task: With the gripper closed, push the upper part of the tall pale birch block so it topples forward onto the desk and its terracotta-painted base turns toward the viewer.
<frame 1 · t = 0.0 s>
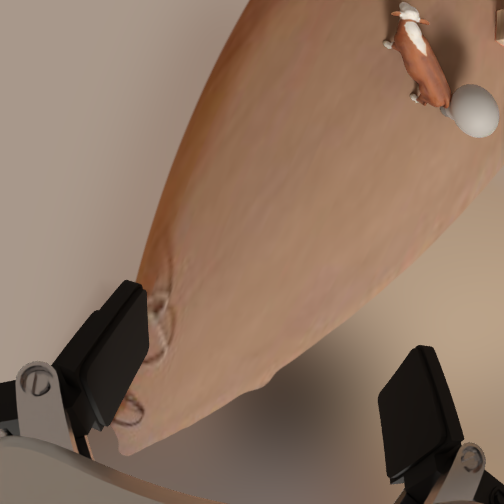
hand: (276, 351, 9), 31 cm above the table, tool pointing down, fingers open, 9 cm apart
lightbulb: (444, 107, 30), on the table
bull figurine: (404, 60, 28), on the table
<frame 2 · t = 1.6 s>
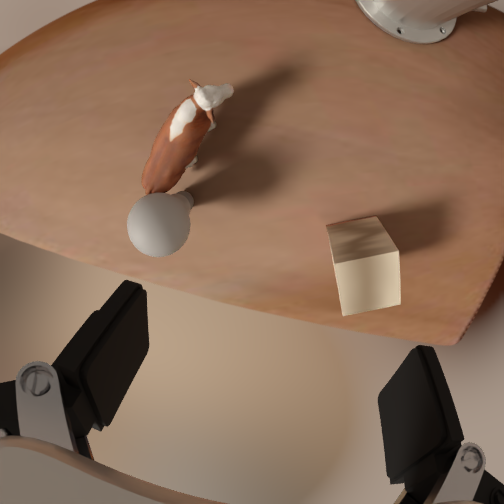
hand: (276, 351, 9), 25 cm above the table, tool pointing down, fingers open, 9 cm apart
lightbulb: (186, 198, 35), on the table
bull figurine: (198, 131, 31), on the table
birch block: (354, 243, 34), on the table
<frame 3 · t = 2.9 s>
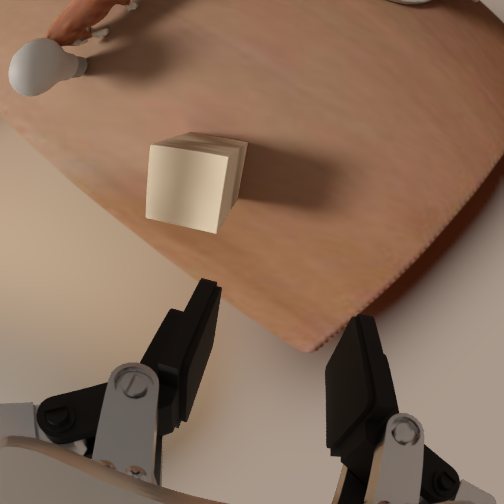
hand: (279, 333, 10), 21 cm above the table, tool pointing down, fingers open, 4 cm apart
lightbulb: (84, 67, 25), on the table
bull figurine: (122, 10, 22), on the table
birch block: (214, 165, 29), on the table
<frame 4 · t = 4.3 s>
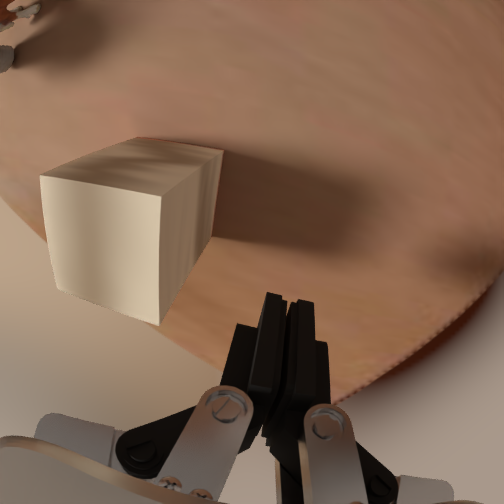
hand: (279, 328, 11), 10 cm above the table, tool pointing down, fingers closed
lightbulb: (13, 58, 15), on the table
birch block: (173, 186, 19), on the table
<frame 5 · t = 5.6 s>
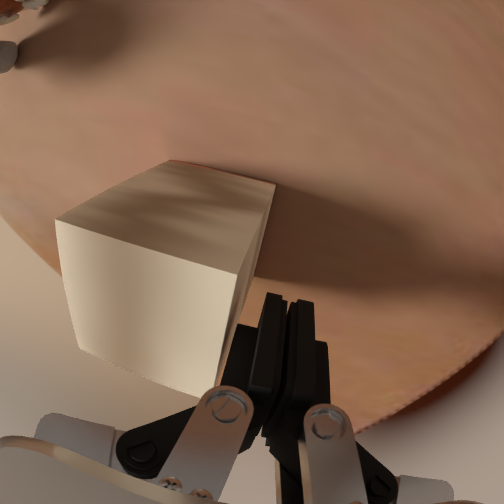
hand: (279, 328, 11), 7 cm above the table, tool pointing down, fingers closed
lightbulb: (16, 56, 13), on the table
birch block: (212, 220, 17), on the table, touching gripper
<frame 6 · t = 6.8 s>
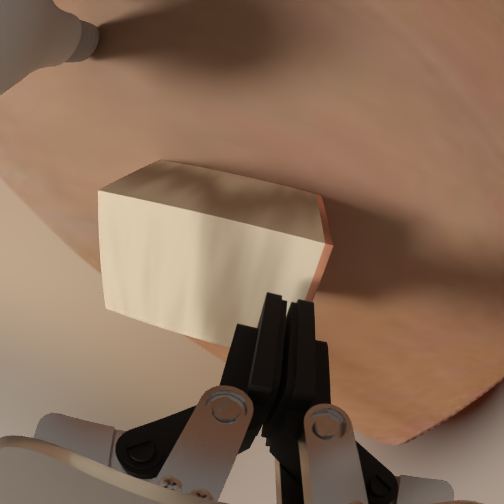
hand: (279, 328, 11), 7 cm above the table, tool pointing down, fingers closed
lightbulb: (92, 44, 13), on the table
birch block: (307, 272, 14), point 3 cm above the table, tilted 90°
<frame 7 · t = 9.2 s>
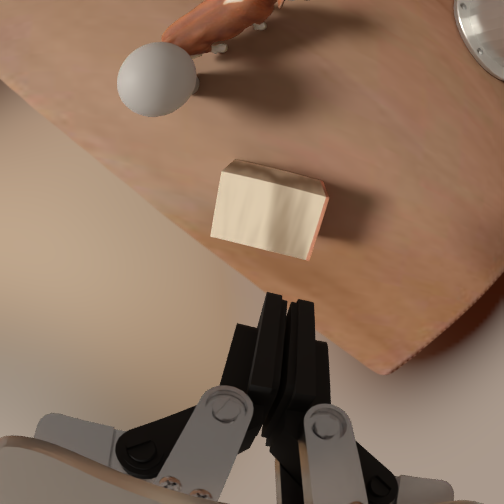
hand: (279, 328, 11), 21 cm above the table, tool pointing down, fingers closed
lightbulb: (190, 84, 26), on the table
bull figurine: (243, 26, 23), on the table
birch block: (316, 218, 28), point 3 cm above the table, tilted 90°
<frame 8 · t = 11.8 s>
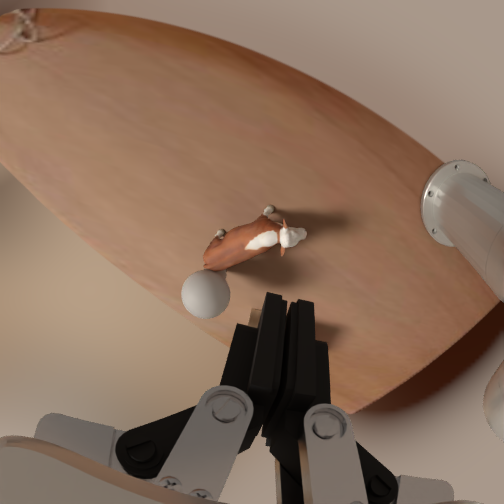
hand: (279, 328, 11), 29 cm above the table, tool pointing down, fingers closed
lightbulb: (220, 262, 44), on the table
bull figurine: (256, 225, 41), on the table
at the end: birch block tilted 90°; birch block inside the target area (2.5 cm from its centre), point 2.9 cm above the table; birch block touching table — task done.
